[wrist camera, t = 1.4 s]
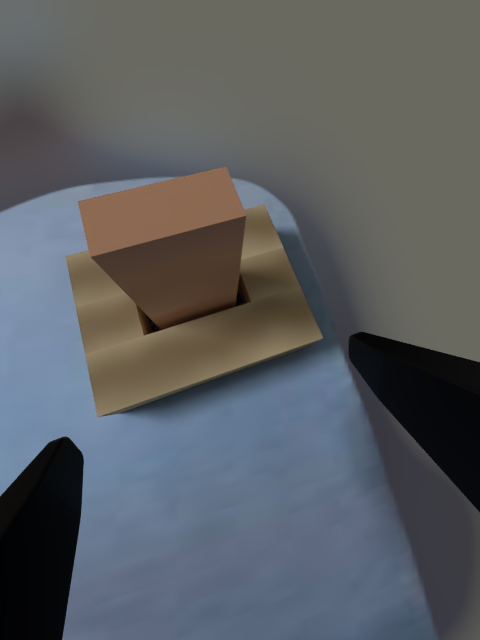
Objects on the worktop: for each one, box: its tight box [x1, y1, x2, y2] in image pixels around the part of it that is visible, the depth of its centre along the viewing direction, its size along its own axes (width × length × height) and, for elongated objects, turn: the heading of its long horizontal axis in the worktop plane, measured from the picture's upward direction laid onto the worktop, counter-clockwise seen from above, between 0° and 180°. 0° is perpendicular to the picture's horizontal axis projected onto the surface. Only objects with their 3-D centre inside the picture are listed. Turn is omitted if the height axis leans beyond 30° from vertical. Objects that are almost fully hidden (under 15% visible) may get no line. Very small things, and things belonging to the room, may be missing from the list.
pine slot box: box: [66, 204, 323, 417], centre depth 21 cm, size 12×16×4 cm
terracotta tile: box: [78, 167, 246, 330], centre depth 16 cm, size 2×6×13 cm, turn 109°
